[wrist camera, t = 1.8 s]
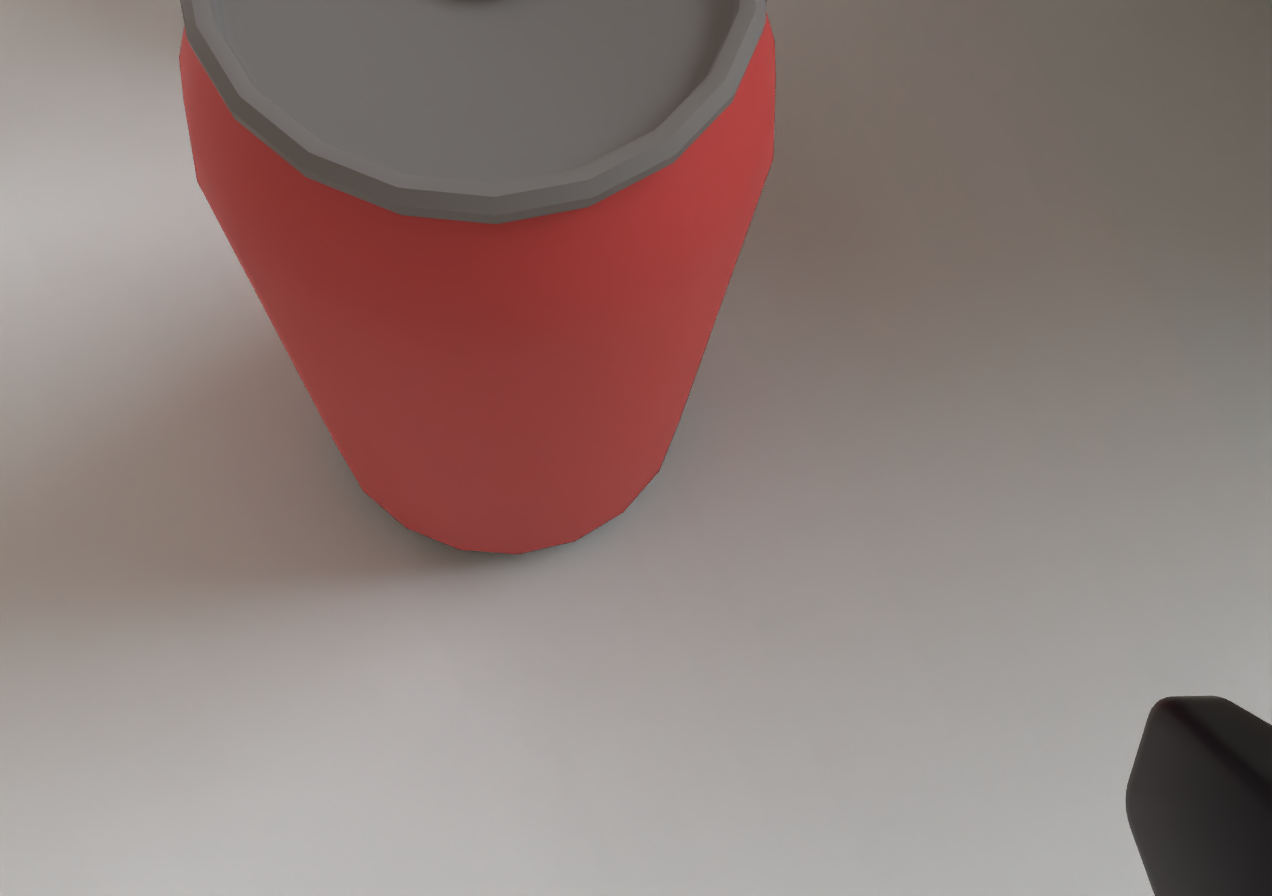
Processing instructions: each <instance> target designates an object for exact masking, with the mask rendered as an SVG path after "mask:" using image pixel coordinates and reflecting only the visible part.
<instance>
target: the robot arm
mask: <svg viewBox="0 0 1272 896" xmlns="http://www.w3.org/2000/svg"><path fill="white" fill-rule="evenodd" d="M1126 812H1127V817H1128V821H1129V825H1130V828H1131V831H1132V834H1133V837H1134V839H1135V842H1136V845H1137V848H1138V850H1139V853H1140V856H1141V859H1142V861H1143V864H1144V867H1145V870H1146V872H1147V875H1148V878H1149V881H1150V884H1151V886H1152V889H1153V892H1154V895H1155V896H1272V725H1270V724H1268V723H1267V722H1265V721H1263V720H1262V719H1260V718H1258V717H1256V716H1255V715H1253V714H1251V713H1250V712H1248V711H1246V710H1244V709H1243V708H1241V707H1239V706H1238V705H1236V704H1234V703H1232V702H1231V701H1229V700H1227V699H1225V698H1221V697H1217V696H1177V697H1166V698H1164V699H1161V700H1159V701H1158V702H1157V703H1156V704H1155V705H1154V706H1153V708H1152V709H1151V711H1150V714H1149V716H1148V719H1147V722H1146V725H1145V729H1144V732H1143V735H1142V738H1141V742H1140V745H1139V748H1138V751H1137V755H1136V758H1135V761H1134V764H1133V768H1132V771H1131V774H1130V777H1129V781H1128V784H1127V790H1126Z"/></svg>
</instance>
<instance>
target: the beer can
mask: <svg viewBox="0 0 1272 896" xmlns="http://www.w3.org/2000/svg"><path fill="white" fill-rule="evenodd" d="M180 2H181V7H182V13H183V19H184V31H183V37H182V43H181V50H180V56H179V62H180V71H181V80H182V89H183V99H184V105H185V111H186V117H187V123H188V129H189V135H190V141H191V147H192V153H193V159H194V165H195V171H196V177H197V182H198V184H199V186H200V187H201V189H202V191H203V193H204V195H205V197H206V199H207V201H208V203H209V204H210V206H211V208H212V210H213V212H214V214H215V216H216V218H217V220H218V222H219V223H220V225H221V227H222V229H223V231H224V233H225V235H226V237H227V239H228V241H229V242H230V244H231V246H232V248H233V250H234V252H235V254H236V256H237V258H238V260H239V261H240V263H241V265H242V267H243V269H244V271H245V273H246V275H247V277H248V279H249V280H250V282H251V284H252V286H253V288H254V290H255V292H256V294H257V296H258V298H259V299H260V301H261V303H262V305H263V307H264V309H265V311H266V313H267V315H268V316H269V318H270V320H271V322H272V324H273V326H274V328H275V330H276V332H277V334H278V335H279V337H280V339H281V341H282V343H283V345H284V347H285V349H286V351H287V353H288V354H289V356H290V358H291V360H292V362H293V364H294V366H295V368H296V370H297V372H298V373H299V375H300V377H301V379H302V381H303V383H304V385H305V387H306V389H307V391H308V392H309V394H310V396H311V398H312V400H313V402H314V404H315V406H316V408H317V410H318V411H319V413H320V415H321V417H322V419H323V421H324V423H325V425H326V427H327V428H328V430H329V432H330V434H331V436H332V438H333V440H334V442H335V444H336V445H337V447H338V449H339V451H340V452H341V454H342V456H343V457H344V459H345V461H346V462H347V464H348V466H349V468H350V469H351V471H352V473H353V474H354V476H355V478H356V480H357V481H358V483H359V485H360V486H361V488H362V490H363V491H364V492H365V493H366V494H367V495H368V496H370V497H371V498H372V499H373V500H374V501H375V502H377V503H378V504H379V505H380V506H381V507H382V508H384V509H385V510H386V511H387V512H388V513H389V514H391V515H392V516H393V517H394V518H395V519H396V520H398V521H399V522H400V523H401V524H402V525H403V526H405V527H406V528H408V529H410V530H413V531H415V532H418V533H420V534H422V535H425V536H427V537H430V538H432V539H435V540H437V541H440V542H442V543H444V544H447V545H449V546H452V547H454V548H457V549H459V550H470V551H482V552H495V553H508V554H521V553H526V552H530V551H534V550H539V549H543V548H547V547H552V546H556V545H560V544H565V543H569V542H573V541H576V540H577V539H579V538H581V537H582V536H584V535H586V534H587V533H589V532H591V531H593V530H594V529H596V528H598V527H599V526H601V525H603V524H604V523H606V522H608V521H609V520H611V519H613V518H614V517H616V516H618V515H619V514H621V513H623V512H624V511H625V510H626V508H627V507H628V506H629V505H630V504H631V503H632V502H633V500H634V499H635V498H636V497H637V496H638V495H639V493H640V492H641V491H642V490H643V489H644V488H645V487H646V485H647V484H648V483H649V482H650V481H651V480H652V479H653V477H654V476H655V475H656V474H657V473H658V472H659V470H660V467H661V465H662V462H663V460H664V458H665V455H666V453H667V450H668V448H669V445H670V443H671V440H672V438H673V436H674V433H675V431H676V428H677V426H678V423H679V421H680V418H681V415H682V412H683V409H684V407H685V404H686V401H687V398H688V396H689V393H690V390H691V387H692V384H693V382H694V379H695V376H696V373H697V370H698V368H699V365H700V362H701V359H702V356H703V354H704V351H705V348H706V345H707V342H708V340H709V337H710V334H711V331H712V329H713V326H714V323H715V320H716V317H717V315H718V312H719V309H720V306H721V303H722V301H723V298H724V295H725V292H726V289H727V287H728V284H729V281H730V278H731V275H732V273H733V270H734V267H735V264H736V262H737V259H738V256H739V253H740V250H741V248H742V245H743V242H744V239H745V236H746V234H747V231H748V228H749V225H750V222H751V220H752V217H753V214H754V211H755V208H756V206H757V203H758V200H759V197H760V195H761V192H762V189H763V186H764V183H765V181H766V178H767V175H768V172H769V169H770V167H771V164H772V161H773V156H774V121H775V87H776V72H775V41H774V37H773V33H772V30H771V26H770V23H769V19H768V15H767V12H766V0H180Z"/></svg>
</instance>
